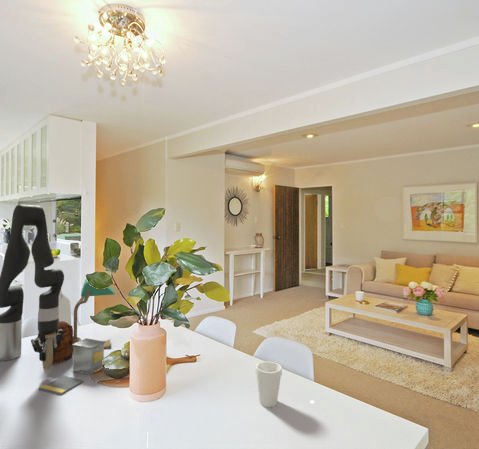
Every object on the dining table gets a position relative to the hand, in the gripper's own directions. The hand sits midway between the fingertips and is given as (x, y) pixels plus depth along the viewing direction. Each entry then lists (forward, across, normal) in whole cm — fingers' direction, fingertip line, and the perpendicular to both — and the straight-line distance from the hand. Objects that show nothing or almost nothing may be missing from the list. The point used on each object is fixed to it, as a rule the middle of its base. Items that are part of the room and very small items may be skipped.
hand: (47, 358), depth 134 cm
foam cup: (+6, -15, +90) cm, 92 cm away
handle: (+5, 0, 0) cm, 5 cm away
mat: (+7, +3, +12) cm, 14 cm away
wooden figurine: (+8, -14, -8) cm, 18 cm away
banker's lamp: (+8, -31, -6) cm, 33 cm away
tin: (+8, -11, +10) cm, 17 cm away
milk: (+9, -38, -40) cm, 55 cm away
